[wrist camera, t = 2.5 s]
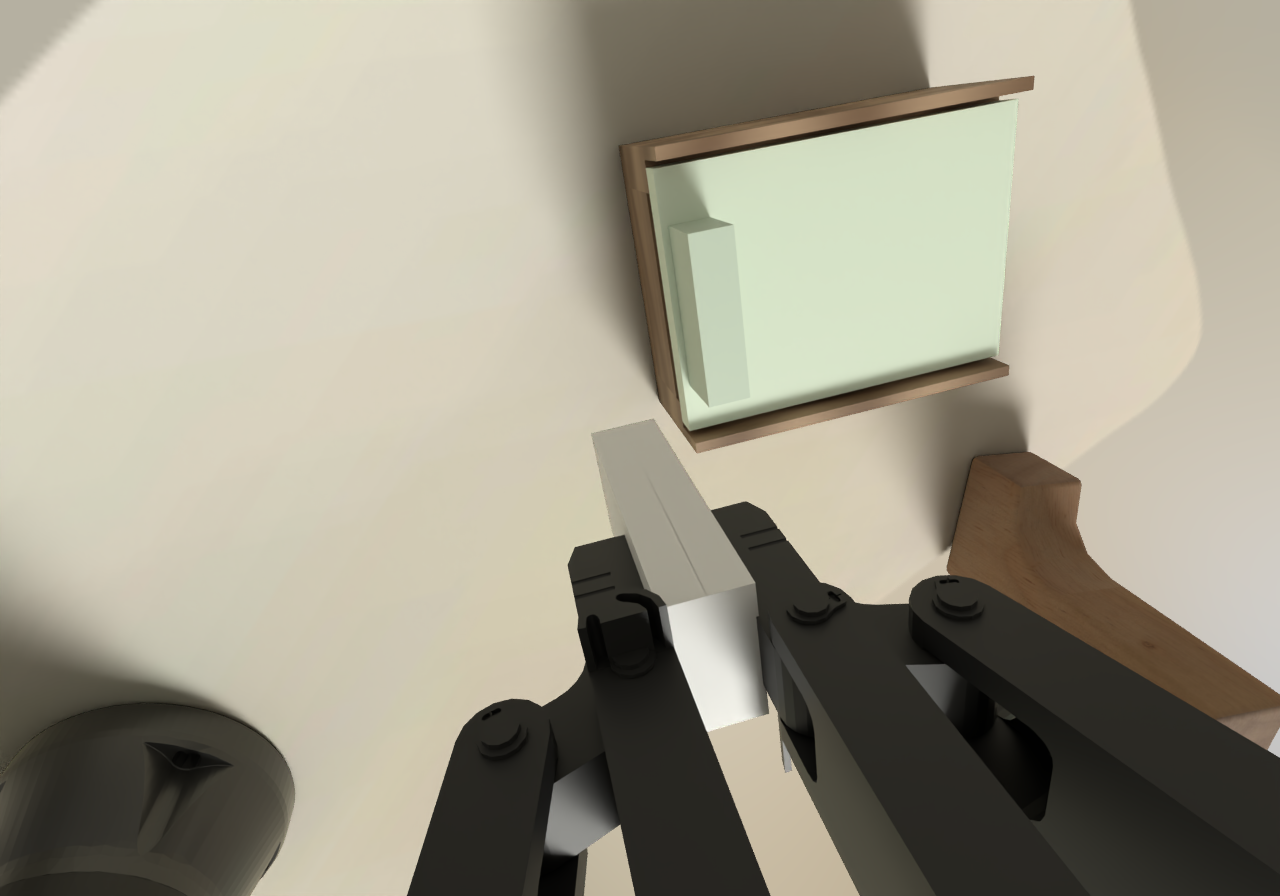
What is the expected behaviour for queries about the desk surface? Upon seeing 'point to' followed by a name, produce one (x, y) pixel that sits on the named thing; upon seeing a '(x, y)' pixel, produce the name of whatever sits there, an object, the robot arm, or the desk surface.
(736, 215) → the lid
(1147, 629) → the wooden block
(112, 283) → the desk surface
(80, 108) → the desk surface
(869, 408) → the box
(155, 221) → the desk surface
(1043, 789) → the robot arm
